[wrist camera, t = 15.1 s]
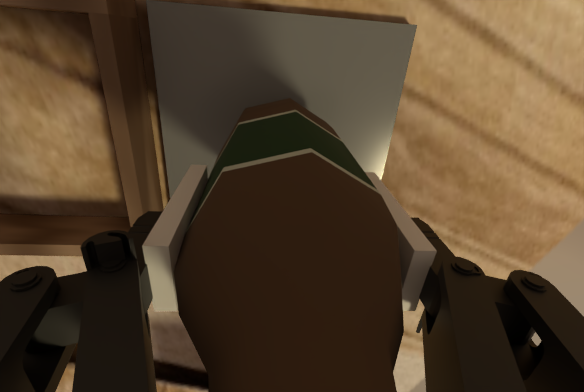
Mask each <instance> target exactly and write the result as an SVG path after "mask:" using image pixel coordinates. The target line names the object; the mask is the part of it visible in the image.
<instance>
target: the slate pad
mask: <svg viewBox="0 0 584 392" xmlns="http://www.w3.org/2000/svg"><path fill="white" fill-rule="evenodd" d="M146 5H147V13H148V21H149V29H150V37H151V46H152V54H153V62H154V70H155V78H156V86H157V95H158V103H159V111H160V119H161V127H162V136H163V144H164V152H165V160H166V168H167V177H168V185H169V193H170V199H171V197H172V196H173V194H174V192H175V191H176V189H177V187H178V186H179V184H180V182H181V181H182V179H183V177H184V176H185V174H186V172H187V171H188V169H189V167H190V166H191V165H207V174H208V178H209V176H210V173H211V171H212V169H213V166H214V164H215V162H216V159H217V157H218V155H219V153H220V151H221V149H222V147H223V146H224V144H225V142H226V140H227V139H228V137H229V135H230V133H231V132H232V130H233V128H234V126H235V125H236V123H237V121H238V119H239V118H240V116H241V114H242V113H243V111H244V109H245V108H248V107H253V106H257V105H261V104H266V103H270V102H274V101H279V100H283V99H288V98H291V99H292V100H294V101H295V102H297V103H298V104H300V105H301V106H303V107H304V108H306V109H307V110H309V111H310V112H312V113H313V114H315V115H316V116H318V117H319V118H321V119H322V120H324V121H325V122H327V123H328V124H329V125H330V126H331V127H332V128H333V129H334V130H335V132H336V133H337V135H338V136H339V137H340V139H341V140H342V142H343V143H344V144H345V146H346V147H347V148H348V150H349V151H350V153H351V154H352V155H353V157H354V158H355V159H356V161H357V162H358V164H359V165H360V166H361V168H362V169H363V170H364V172H374V173H375V174H376V175H377V176H378V178H379V179H380V180H382V175H383V171H384V167H385V162H386V158H387V154H388V149H389V145H390V141H391V136H392V132H393V127H394V123H395V119H396V114H397V110H398V106H399V101H400V97H401V93H402V88H403V84H404V80H405V75H406V71H407V67H408V62H409V58H410V54H411V49H412V45H413V41H414V36H415V32H416V28H417V25H411V24H400V23H390V22H379V21H368V20H358V19H347V18H336V17H326V16H315V15H304V14H293V13H283V12H272V11H261V10H251V9H240V8H229V7H219V6H208V5H197V4H187V3H176V2H165V1H154V0H146Z"/></svg>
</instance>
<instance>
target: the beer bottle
mask: <svg viewBox="0 0 584 392" xmlns="http://www.w3.org/2000/svg"><path fill="white" fill-rule="evenodd" d="M174 280H175V287H176V295H177V303H178V311H179V316H180V318H181V320H182V322H183V324H184V326H185V328H186V330H187V332H188V334H189V336H190V338H191V340H192V342H193V344H194V346H195V348H196V350H197V352H198V354H199V356H200V358H201V360H202V362H203V364H204V366H205V368H206V370H207V373H208V377H209V392H397V391H396V386H395V381H394V376H393V370H394V367H395V363H396V359H397V355H398V351H399V347H400V344H401V340H402V336H403V332H404V326H403V305H402V285H401V266H400V254H399V242H398V230H397V224H396V222H395V220H394V218H393V216H392V214H391V213H390V211H389V209H388V207H387V205H386V203H385V201H384V199H383V197H382V196H381V194H380V193H379V191H378V190H377V188H376V187H375V186H374V184H373V183H372V182H371V180H370V179H369V177H368V176H367V175H366V173H365V172H364V170H363V169H362V168H361V166H360V165H359V164H358V162H357V161H356V159H355V158H354V157H353V155H352V154H351V153H350V151H349V150H348V148H347V147H346V146H345V144H344V143H343V142H342V140H341V139H340V137H339V136H338V135H337V133H336V132H335V130H334V129H333V128H332V127H331V126H330V125H329V124H328V123H327V122H325V121H324V120H322V119H321V118H319V117H318V116H316V115H315V114H313V113H312V112H310V111H309V110H307V109H306V108H304V107H303V106H301V105H300V104H298V103H297V102H295V101H294V100H292V99H291V98H288V99H283V100H279V101H274V102H270V103H266V104H261V105H257V106H253V107H248V108H245V109H244V111H243V113H242V114H241V116H240V118H239V119H238V121H237V123H236V125H235V126H234V128H233V130H232V132H231V133H230V135H229V137H228V139H227V140H226V142H225V144H224V146H223V147H222V149H221V151H220V153H219V155H218V157H217V159H216V162H215V164H214V166H213V169H212V171H211V173H210V176H209V178H208V181H207V183H206V186H205V188H204V190H203V193H202V195H201V198H200V200H199V202H198V205H197V207H196V209H195V212H194V214H193V217H192V219H191V221H190V224H189V226H188V228H187V231H186V233H185V236H184V239H183V242H182V245H181V248H180V251H179V255H178V258H177V262H176V266H175V269H174Z"/></svg>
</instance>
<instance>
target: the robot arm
mask: <svg viewBox="0 0 584 392" xmlns="http://www.w3.org/2000/svg"><path fill="white" fill-rule="evenodd" d="M365 173H366V175H367V176H368V177H369V179H370V180H371V182H372V183H373V184H374V186H375V187H376V188H377V190H378V191H379V193H380V194H381V196H382V197H383V199H384V201H385V203H386V205H387V207H388V209H389V211H390V213H391V214H392V216H393V218H394V220H395V222H396V224H397V230H398V242H399V254H400V266H401V285H402V305H403V311H415V310H416V307H417V304H418V302H419V299H420V300H421V302H422V303H423V305H424V307H425V308H424V311H423V314H422V316H421V319H420V321H419V324H418V327H417V330H416V332H417V333H420V330H421V328H422V331H423V347H424V363H425V378H426V392H584V317H583V316H582V315H581V313H579V311H578V310H577V309H576V308H575V307H574V306H573V305H572V304H571V303H570V302H569V301H568V300H567V299H566V298H565V297H564V296H563V295H562V294H561V293H560V292H559V291H558V289H557V288H556V287H555V286H554V285H552V284H551V283H550V282H549V281H547V280H546V279H544V278H542V277H541V276H539V275H537V274H534V273H532V272H527V271H523V270H514V271H513V272H511V273H510V275H509V277H508V278H507V280H503V279H498V278H494V277H489V276H485V274H484V272H483V271H482V269H481V268H480V267H479V266H477V265H476V264H475V263H473V262H471V261H469V260H467V259H464V258H461V257H455V256H454V254H453V253H452V252H451V251H450V250H449V249H448V247H447V246H446V245H445V244H444V243H443V242H442V240H441V239H439V237H438V236H437V235H436V233H434V231H433V230H432V229H431V228H430V226H429V225H428V224H426V223H425V222H423V221H422V220H420V219H419V218H410V217H409V215H408V214H407V213H406V212H405V210H404V209H403V208H402V206H401V205H400V204H399V203H398V201H397V200H396V199H395V198H394V196H393V195H392V194H391V193H390V191H389V190H388V189H387V188H386V186H385V185H384V184H383V183H382V181H381V180H380V179H379V178H378V176H377V175H376V174H375V173H374V172H365ZM207 181H208V174H207V165H191V166H190V167H189V169H188V171H187V172H186V174H185V176H184V177H183V179H182V181H181V182H180V184H179V186H178V187H177V189H176V191H175V192H174V194H173V196H172V197H171V199H170V200H169V202H168V204H167V205H166V207H165V209H164V210H163V211H148V212H146V213H145V214H143V215H141V216H140V217H138V219H137V220H136V221H135V223H134V224H133V227H131V228H130V230H129V231H128V232H126V231H121V230H110V231H105V232H101V233H98V234H95V235H93V236H91V237H89V238H88V239H87V240H85V241H84V242H83V243H82V245H81V247H80V249H81V252H82V255H83V259H84V262H85V265H86V269H87V271H86V272H82V273H78V274H72V275H67V276H62V277H57V276H56V273H55V271H54V270H53V269H52V268H50V267H47V266H35V267H30V268H25V269H23V270H19V271H17V272H14V273H13V274H11V275H9V276H7V277H5V278H4V279H3V280H2V281H1V282H0V392H55V391H56V389H57V386H58V384H59V382H60V380H61V377H62V375H63V373H64V371H65V368H66V366H67V364H68V361H69V359H70V357H71V355H72V352H73V350H74V348H75V345H76V343H78V348H77V357H76V365H75V373H74V381H73V389H72V392H157V389H156V380H155V371H154V362H153V353H152V343H151V334H150V325H149V317H148V312H147V310H148V308H149V306H150V303H151V301H152V302H153V308H154V311H178V303H177V295H176V287H175V280H174V269H175V266H176V262H177V258H178V255H179V251H180V248H181V245H182V242H183V239H184V236H185V233H186V231H187V228H188V226H189V224H190V221H191V219H192V217H193V214H194V212H195V209H196V207H197V205H198V202H199V200H200V198H201V195H202V193H203V190H204V188H205V186H206V183H207ZM535 332H536V333H537V334H538V336H539V337H540V339H541V340H542V341H541V343H540V344H539V345H538V346H536V345H535V344H534V342H533V341H532V339H531V338H532V336H533V334H534V333H535Z"/></svg>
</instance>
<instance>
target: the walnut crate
mask: <svg viewBox="0 0 584 392" xmlns="http://www.w3.org/2000/svg"><path fill="white" fill-rule="evenodd" d="M0 6H2V7H13V8H24V9H36V10H47V11H59V12H70V13H82V14H88V15H89V20H90V25H91V30H92V35H93V40H94V45H95V50H96V55H97V60H98V65H99V70H100V75H101V80H102V85H103V90H104V95H105V100H106V105H107V110H108V115H109V120H110V125H111V130H112V135H113V140H114V145H115V150H116V155H117V160H118V165H119V170H120V175H121V180H122V186H123V191H124V196H125V201H126V206H127V211H128V216H129V217H93V216H56V215H19V214H0V255H39V256H83V255H82V252H81V249H80V247H81V245H82V243H83V242H84V241H85V240H87V239H88V238H89V237H91V236H93V235H95V234H98V233H101V232H105V231H110V230H121V231H126V232H128V231H129V230H130V228H131V227H133V224H134V223H135V221H136V220H137V219H138V217H140V216H141V215H143V214H145V213H146V212H148V211H163V202H162V195H161V188H160V180H159V173H158V166H157V158H156V151H155V144H154V136H153V129H152V122H151V114H150V107H149V100H148V92H147V85H146V77H145V70H144V63H143V55H142V48H141V41H140V33H139V26H138V19H137V11H136V4H135V0H0Z"/></svg>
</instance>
